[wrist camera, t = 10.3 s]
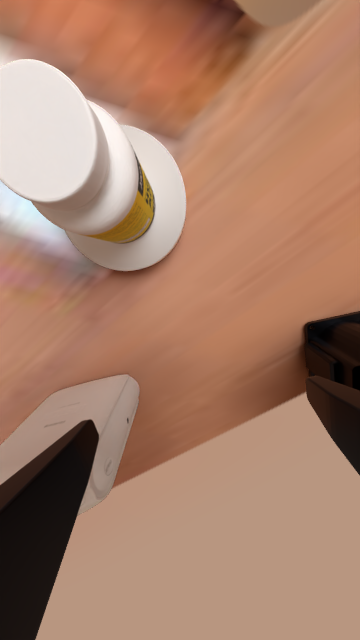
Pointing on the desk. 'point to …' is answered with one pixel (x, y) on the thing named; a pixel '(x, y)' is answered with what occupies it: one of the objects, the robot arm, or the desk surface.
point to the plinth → (167, 214)
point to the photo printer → (65, 413)
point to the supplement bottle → (70, 156)
